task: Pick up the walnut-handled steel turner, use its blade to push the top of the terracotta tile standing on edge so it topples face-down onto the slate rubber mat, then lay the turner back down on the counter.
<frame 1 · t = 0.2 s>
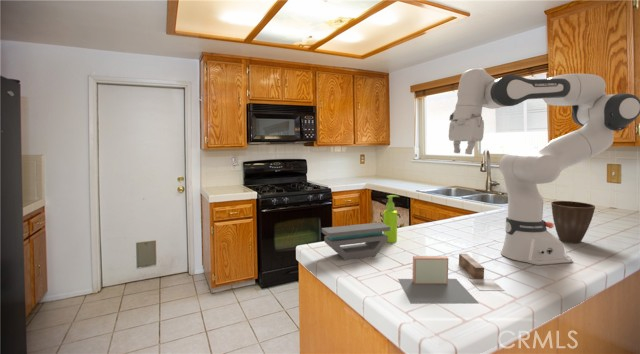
hand: (462, 153, 122), 38 cm above the table, tool pointing down, fingers open, 8 cm apart
plant pot: (570, 241, 145), on the table
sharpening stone: (355, 255, 130), on the table
mat: (435, 292, 97), on the table
soap dispenser: (391, 240, 148), on the table
tile: (429, 282, 102), point 1 cm above the table, touching mat
turner: (475, 278, 107), on the table
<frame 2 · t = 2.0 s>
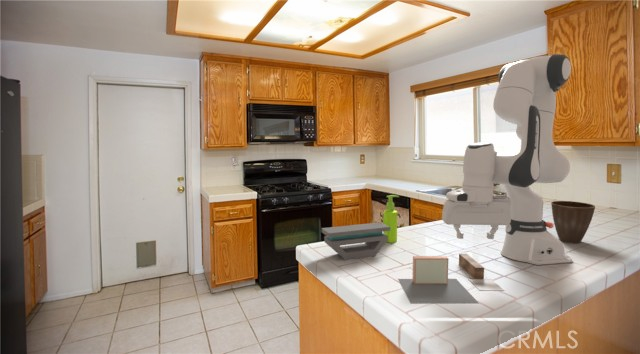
hand: (475, 238, 106), 13 cm above the table, tool pointing down, fingers open, 8 cm apart
nothing on the table moved.
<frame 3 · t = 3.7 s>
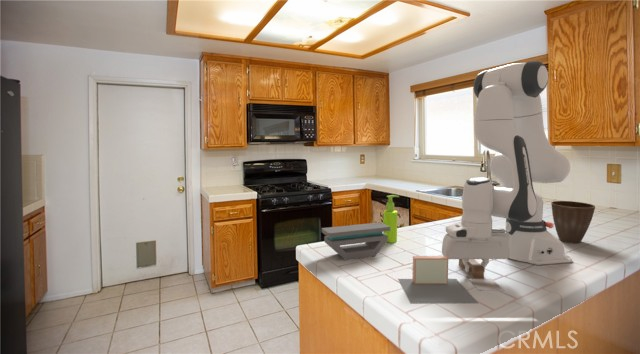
hand: (474, 271, 108), 2 cm above the table, tool pointing down, fingers closed on turner, 3 cm apart
turner: (475, 277, 107), on the table, touching gripper
everything else where it was.
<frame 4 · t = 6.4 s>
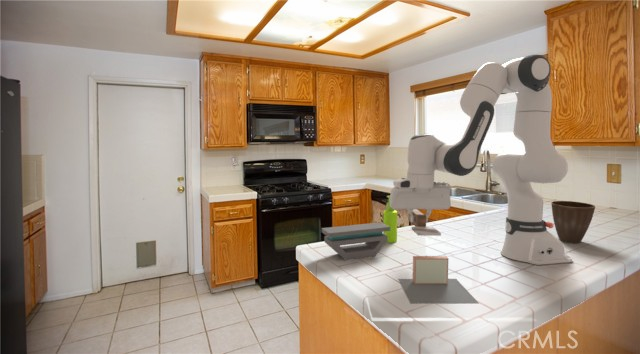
hand: (419, 221, 116), 16 cm above the table, tool pointing down, fingers closed on turner, 3 cm apart
turner: (419, 227, 115), point 14 cm above the table, touching gripper
everything else where it was.
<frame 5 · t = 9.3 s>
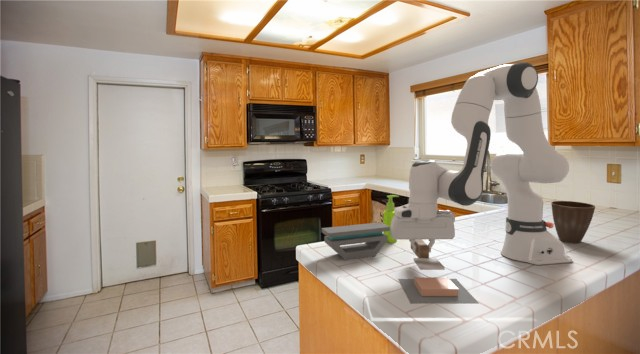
hand: (421, 252, 110), 7 cm above the table, tool pointing down, fingers closed on turner, 3 cm apart
tile: (431, 280, 101), point 2 cm above the table, tilted 90°, touching mat
turner: (422, 257, 110), point 6 cm above the table, touching gripper
everything else where it was.
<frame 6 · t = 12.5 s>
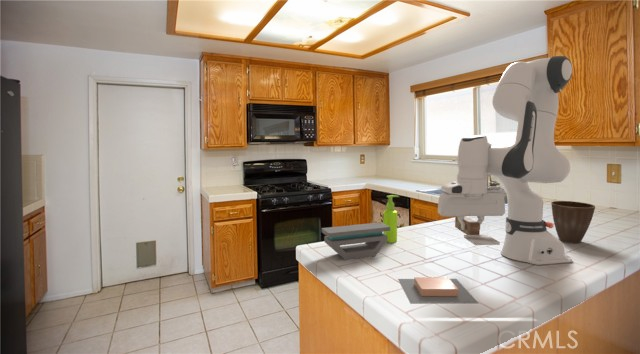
hand: (470, 229, 108), 15 cm above the table, tool pointing down, fingers closed on turner, 3 cm apart
turner: (471, 235, 107), point 13 cm above the table, touching gripper
everything else where it was.
when the fingers open (2 cm above the table, at t = 15.1 s): turner stays where it is, on the table.
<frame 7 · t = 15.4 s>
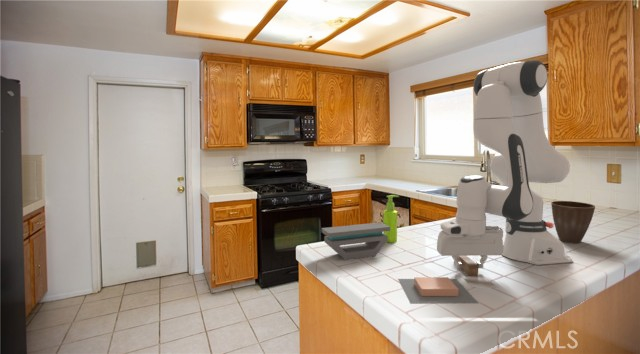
hand: (469, 267, 110), 2 cm above the table, tool pointing down, fingers open, 5 cm apart
turner: (470, 275, 109), on the table
everything else where it was.
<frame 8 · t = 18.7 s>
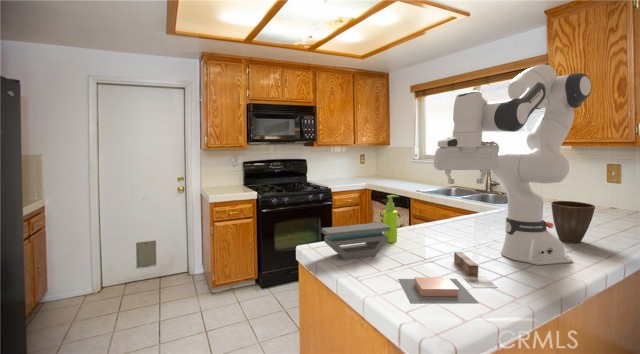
hand: (465, 183, 112), 29 cm above the table, tool pointing down, fingers open, 8 cm apart
nothing on the table moved.
at the end: tile tilted 90°; the gripper is holding nothing; turner on the table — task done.
